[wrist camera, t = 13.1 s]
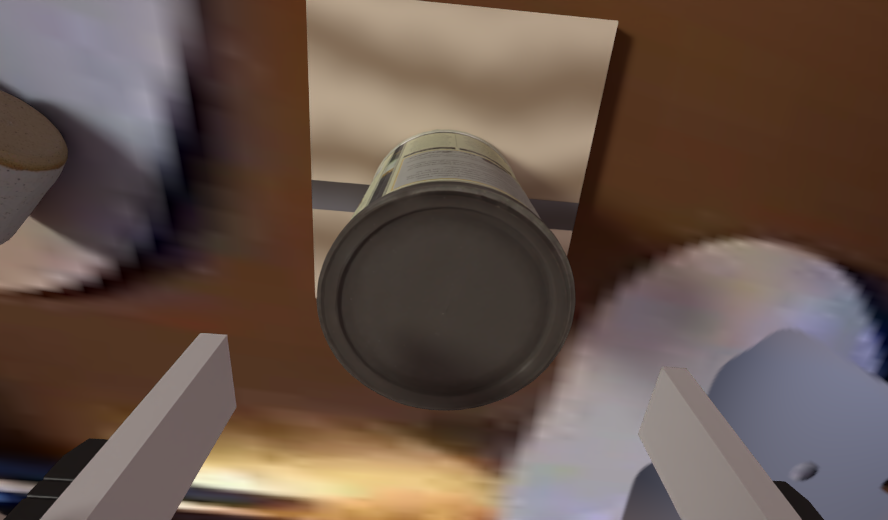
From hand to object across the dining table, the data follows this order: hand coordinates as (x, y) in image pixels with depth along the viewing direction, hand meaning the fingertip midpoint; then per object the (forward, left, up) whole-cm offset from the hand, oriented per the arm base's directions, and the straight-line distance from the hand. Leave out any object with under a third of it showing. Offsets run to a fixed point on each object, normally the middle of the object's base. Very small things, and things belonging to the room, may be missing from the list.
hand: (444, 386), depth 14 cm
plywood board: (-2, 0, -20) cm, 20 cm away
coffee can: (0, 0, -19) cm, 19 cm away
